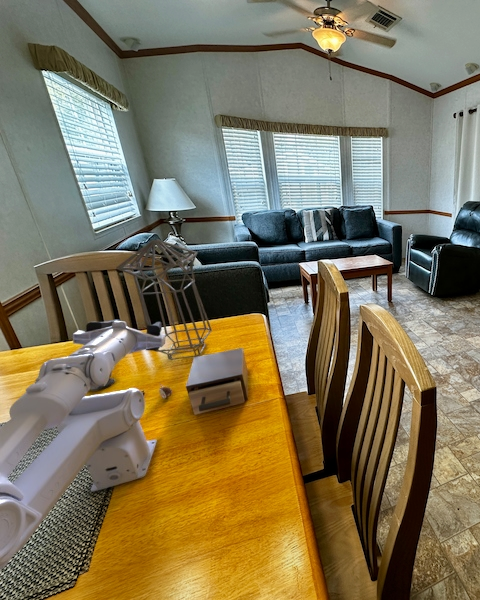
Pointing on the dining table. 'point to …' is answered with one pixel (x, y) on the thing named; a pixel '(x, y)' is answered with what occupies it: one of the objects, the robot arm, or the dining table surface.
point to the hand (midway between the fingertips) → (139, 325)
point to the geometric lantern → (176, 254)
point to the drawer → (216, 396)
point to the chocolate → (165, 392)
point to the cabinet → (219, 370)
